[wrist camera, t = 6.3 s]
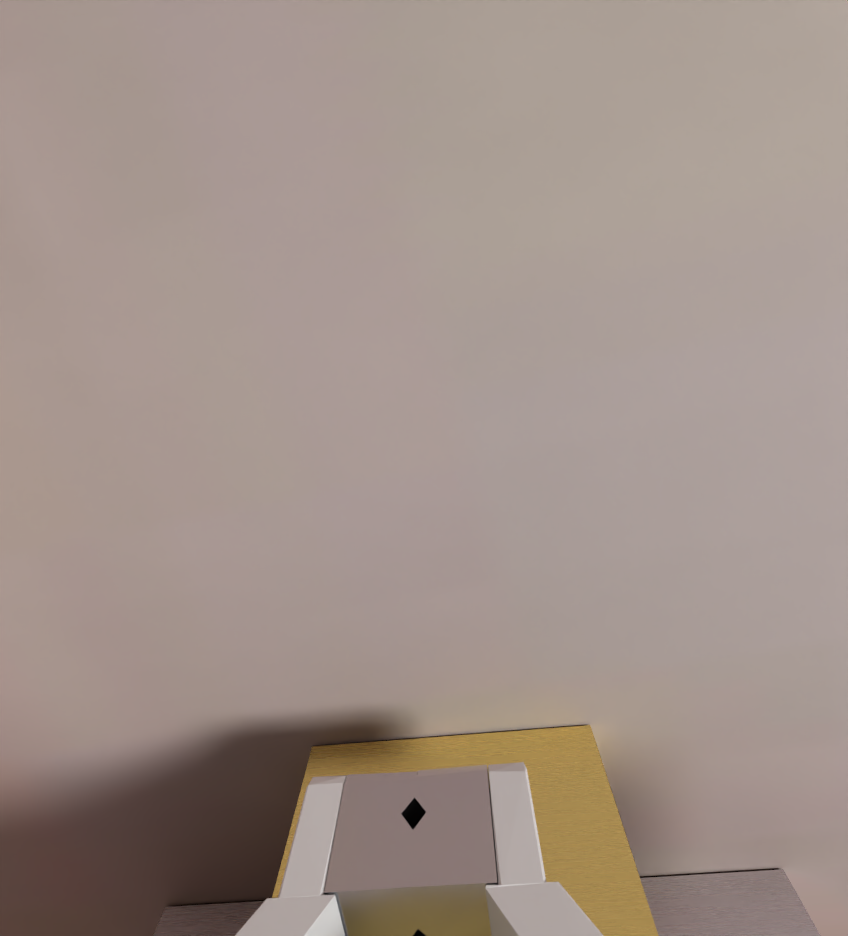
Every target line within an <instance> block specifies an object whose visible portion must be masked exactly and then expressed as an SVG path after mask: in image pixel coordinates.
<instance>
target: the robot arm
mask: <svg viewBox="0 0 848 936" xmlns="http://www.w3.org/2000/svg"><path fill="white" fill-rule="evenodd" d="M488 774H489V776H488ZM489 783H490V785H489ZM235 936H603V934H602V933H601V932H600V931H599V930H598V928H597V927H596V926H595V925H594V924H593V922H592V921H591V920H590V919H589V918H588V916H587V915H586V914H585V913H584V912H583V910H582V909H581V908H580V907H579V906H578V904H577V903H576V902H575V901H574V900H573V898H572V897H571V896H570V895H569V894H568V892H567V891H566V890H565V889H564V888H563V886H562V885H561V884H560V883H559V882H546V877H545V871H544V866H543V860H542V854H541V848H540V842H539V836H538V831H537V825H536V819H535V813H534V807H533V802H532V796H531V790H530V784H529V778H528V773H527V768H526V766H525V764H524V762H518V763H506V764H493V765H488V768H487V765H477V766H465V767H454V768H442V769H430V770H418V771H417V772H396V773H373V774H350V775H341V776H320V777H313V778H312V779H311V781H310V783H309V784H308V786H307V788H306V792H305V795H304V799H303V803H302V807H301V811H300V815H299V819H298V822H297V826H296V830H295V834H294V838H293V842H292V845H291V849H290V853H289V857H288V861H287V865H286V868H285V872H284V876H283V880H282V884H281V888H280V891H279V895H278V897H276V898H266V900H265V901H264V902H263V903H262V904H261V905H260V907H259V908H258V909H257V910H256V911H255V912H254V914H253V915H252V916H251V917H250V918H249V919H248V921H247V922H246V923H245V924H244V925H243V926H242V928H241V929H240V930H239V931H238V932H237V933H236V935H235Z"/></svg>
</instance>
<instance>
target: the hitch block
mask: <svg viewBox="0 0 848 936" xmlns="http://www.w3.org/2000/svg"><path fill="white" fill-rule="evenodd" d="M640 880H641V883H642V886H643V889H644V892H645V895H646V898H647V901H648V905H649V908H650V911H651V914H652V917H653V920H654V923H655V926H656V929H657V932H658V935H659V936H820V934H819V932H818V930H817V928H816V927H815V925H814V923H813V921H812V920H811V918H810V916H809V914H808V913H807V911H806V909H805V907H804V906H803V904H802V902H801V900H800V898H799V897H798V895H797V893H796V891H795V890H794V888H793V886H792V884H791V883H790V881H789V879H788V877H787V876H786V874H785V872H784V870H783V869H781V870H765V871H749V872H732V873H716V874H699V875H683V876H667V877H650V878H640ZM263 902H264V901H256V902H240V903H223V904H207V905H190V906H174V907H165V909H164V911H163V914H162V916H161V918H160V921H159V923H158V925H157V928H156V930H155V932H154V935H153V936H235V935H236V933H237V932H238V931H239V930H240V929H241V928H242V926H243V925H244V924H245V923H246V922H247V921H248V919H249V918H250V917H251V916H252V915H253V914H254V912H255V911H256V910H257V909H258V908H259V907H260V905H261V904H262V903H263Z"/></svg>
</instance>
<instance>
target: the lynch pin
mask: <svg viewBox="0 0 848 936" xmlns="http://www.w3.org/2000/svg"><path fill="white" fill-rule="evenodd" d="M518 762H524V764H525V766H526V768H527V773H528V778H529V784H530V790H531V796H532V802H533V807H534V813H535V819H536V825H537V831H538V836H539V842H540V848H541V854H542V860H543V866H544V871H545V877H546V882H559V883H560V884H561V885H562V886H563V888H564V889H565V890H566V891H567V892H568V894H569V895H570V896H571V897H572V898H573V900H574V901H575V902H576V903H577V904H578V906H579V907H580V908H581V909H582V910H583V912H584V913H585V914H586V915H587V916H588V918H589V919H590V920H591V921H592V922H593V924H594V925H595V926H596V927H597V928H598V930H599V931H600V932H601V933H602V934H603V936H659V935H658V932H657V929H656V926H655V923H654V920H653V917H652V914H651V911H650V908H649V905H648V901H647V898H646V895H645V892H644V889H643V886H642V883H641V880H640V877H639V874H638V871H637V868H636V865H635V862H634V859H633V855H632V852H631V849H630V846H629V843H628V840H627V837H626V834H625V831H624V828H623V825H622V822H621V819H620V816H619V812H618V809H617V806H616V803H615V800H614V797H613V794H612V791H611V788H610V785H609V782H608V779H607V776H606V773H605V769H604V766H603V763H602V760H601V757H600V754H599V751H598V748H597V745H596V742H595V739H594V736H593V733H592V730H591V727H590V725H586V726H573V727H560V728H547V729H534V730H521V731H508V732H495V733H482V734H469V735H456V736H443V737H431V738H418V739H405V740H392V741H379V742H366V743H353V744H340V745H327V746H314V747H312V749H311V753H310V757H309V760H308V764H307V768H306V772H305V776H304V779H303V783H302V787H301V791H300V794H299V798H298V802H297V806H296V809H295V813H294V817H293V821H292V824H291V828H290V832H289V836H288V840H287V843H286V847H285V851H284V855H283V858H282V862H281V866H280V870H279V873H278V877H277V881H276V885H275V888H274V892H273V896H272V898H276V897H278V895H279V891H280V888H281V884H282V880H283V876H284V872H285V868H286V865H287V861H288V857H289V853H290V849H291V845H292V842H293V838H294V834H295V830H296V826H297V822H298V819H299V815H300V811H301V807H302V803H303V799H304V795H305V792H306V788H307V786H308V784H309V783H310V781H311V779H312V778H313V777H320V776H341V775H350V774H373V773H396V772H417V771H418V770H430V769H442V768H454V767H465V766H477V765H487V768H488V765H493V764H506V763H518ZM488 776H489V774H488ZM489 785H490V783H489Z"/></svg>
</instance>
